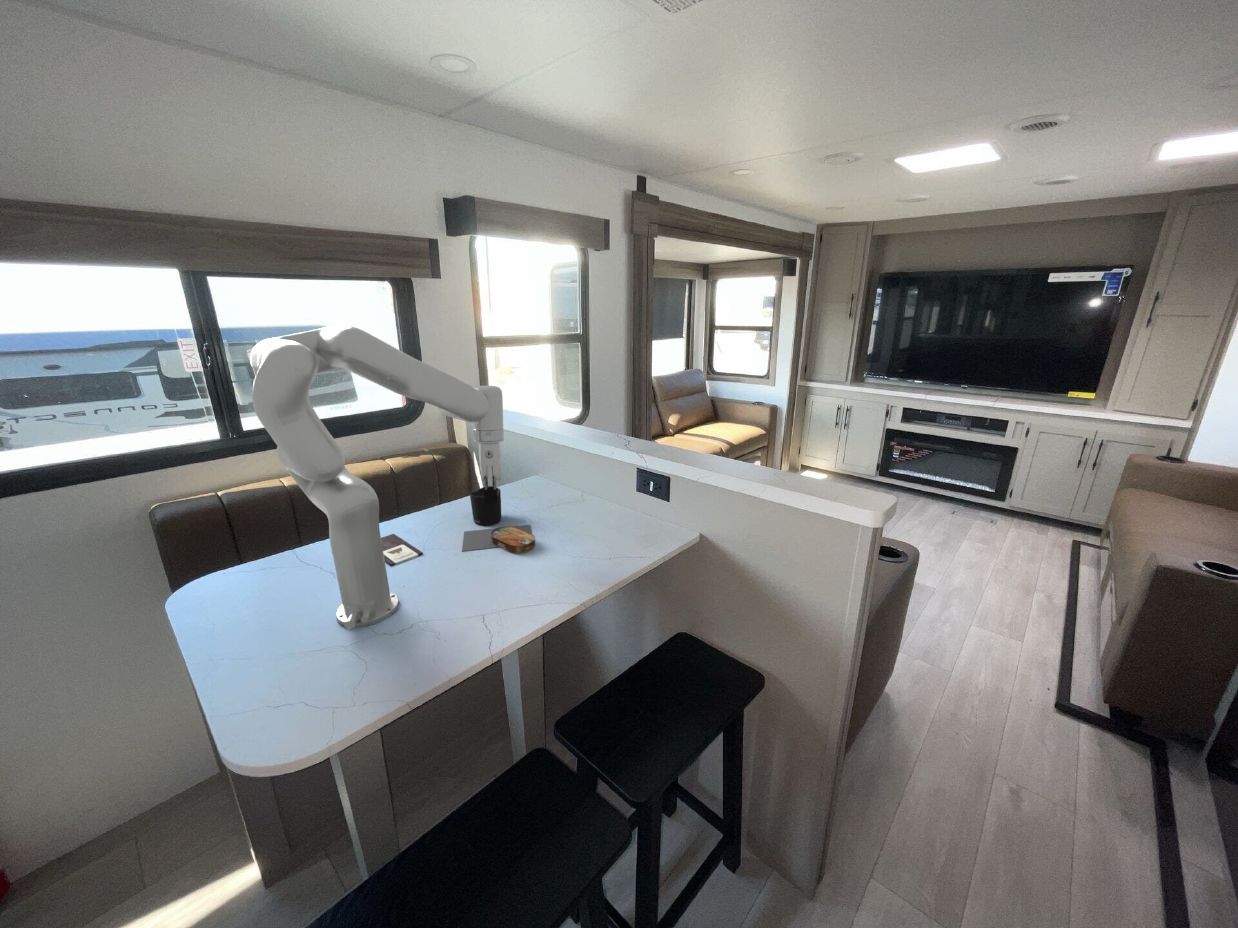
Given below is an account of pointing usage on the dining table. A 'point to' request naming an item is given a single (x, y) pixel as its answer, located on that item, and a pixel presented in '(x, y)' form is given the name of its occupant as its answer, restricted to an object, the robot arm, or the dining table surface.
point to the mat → (483, 538)
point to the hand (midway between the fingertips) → (491, 502)
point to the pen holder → (485, 508)
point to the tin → (513, 539)
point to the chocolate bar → (397, 550)
